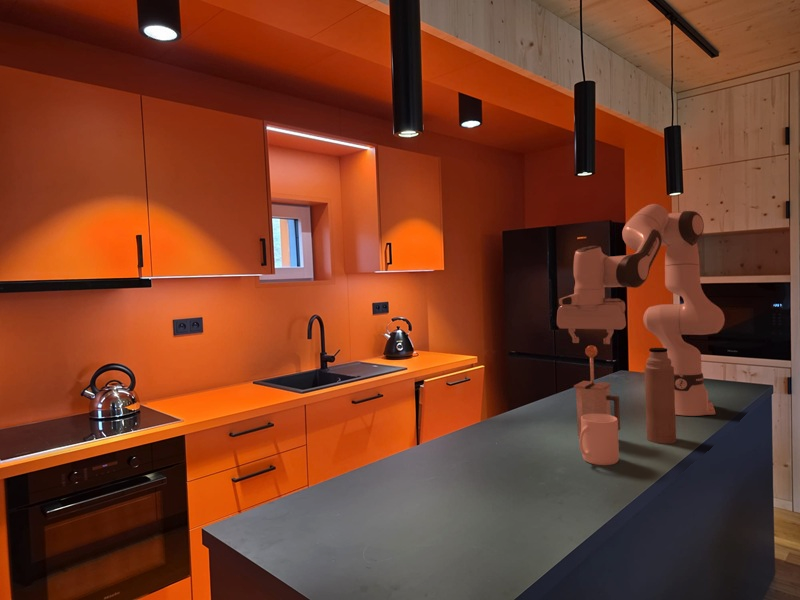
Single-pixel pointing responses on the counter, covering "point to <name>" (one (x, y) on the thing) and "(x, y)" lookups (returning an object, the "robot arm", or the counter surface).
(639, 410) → the counter surface
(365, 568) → the counter surface
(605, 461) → the mug
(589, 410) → the press carafe
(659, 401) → the thermos bottle
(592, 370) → the copper ball on rod
